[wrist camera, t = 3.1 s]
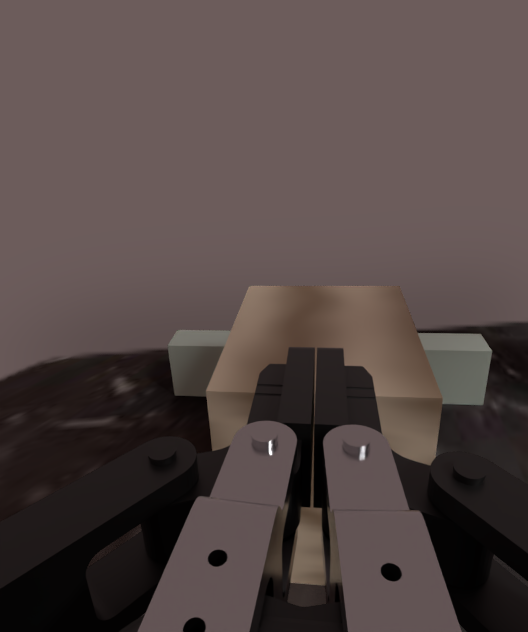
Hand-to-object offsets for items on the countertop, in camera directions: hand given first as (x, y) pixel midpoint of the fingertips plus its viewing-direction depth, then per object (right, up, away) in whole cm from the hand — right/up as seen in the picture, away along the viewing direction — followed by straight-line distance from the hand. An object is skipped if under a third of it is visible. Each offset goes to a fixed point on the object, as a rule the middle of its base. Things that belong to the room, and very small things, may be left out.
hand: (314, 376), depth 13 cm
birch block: (+2, -10, +18) cm, 20 cm away
